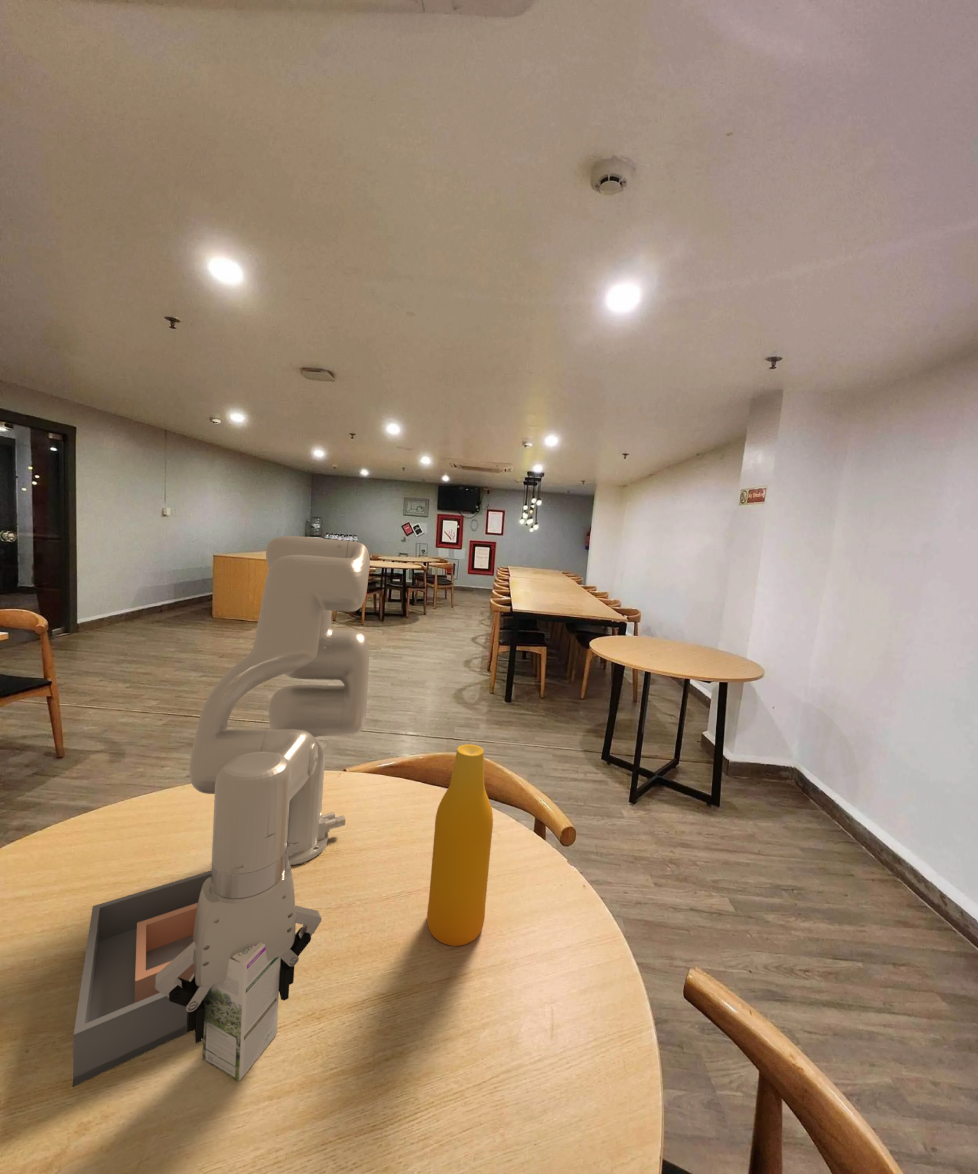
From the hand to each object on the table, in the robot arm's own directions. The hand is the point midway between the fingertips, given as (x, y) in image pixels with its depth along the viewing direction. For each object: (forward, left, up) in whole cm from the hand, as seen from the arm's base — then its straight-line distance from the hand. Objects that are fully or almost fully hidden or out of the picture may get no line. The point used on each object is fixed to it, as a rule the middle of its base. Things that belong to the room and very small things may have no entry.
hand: (242, 1009), depth 52 cm
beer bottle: (-31, -2, -5) cm, 31 cm away
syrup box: (0, 0, -5) cm, 5 cm away
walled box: (+5, -15, -5) cm, 17 cm away
